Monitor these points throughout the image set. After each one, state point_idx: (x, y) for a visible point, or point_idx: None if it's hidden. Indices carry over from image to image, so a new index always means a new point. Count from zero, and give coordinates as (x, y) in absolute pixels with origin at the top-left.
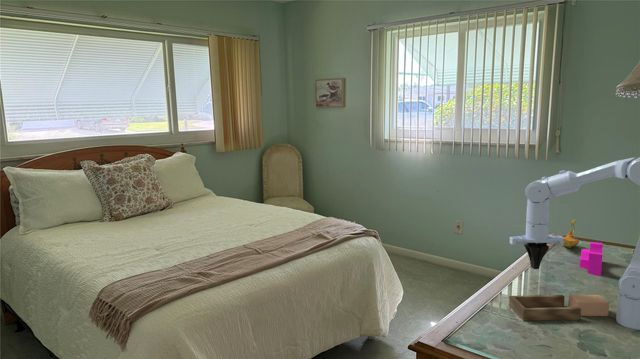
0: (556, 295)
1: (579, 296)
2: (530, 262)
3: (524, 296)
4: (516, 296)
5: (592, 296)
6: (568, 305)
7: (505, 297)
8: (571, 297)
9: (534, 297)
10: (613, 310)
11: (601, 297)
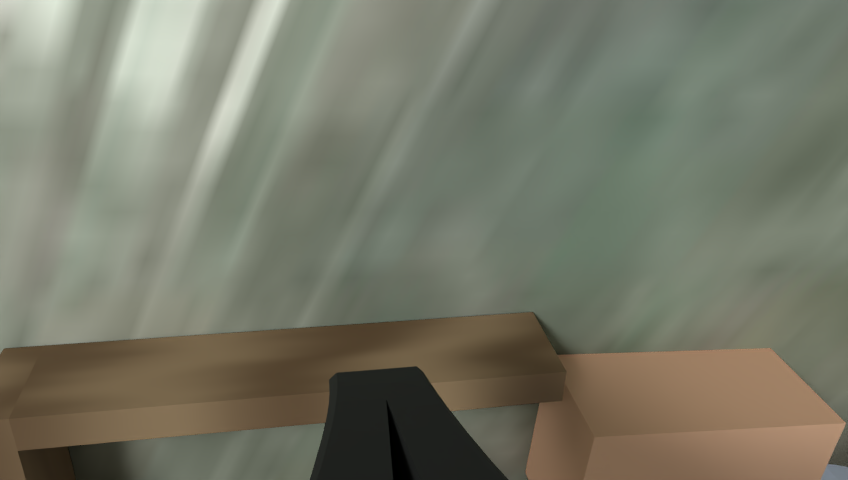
0: (497, 387)
1: (659, 464)
2: (325, 427)
3: (143, 427)
4: (48, 433)
5: (765, 457)
6: None
7: (14, 139)
8: (582, 471)
9: (252, 425)
10: (836, 383)
11: (819, 466)
